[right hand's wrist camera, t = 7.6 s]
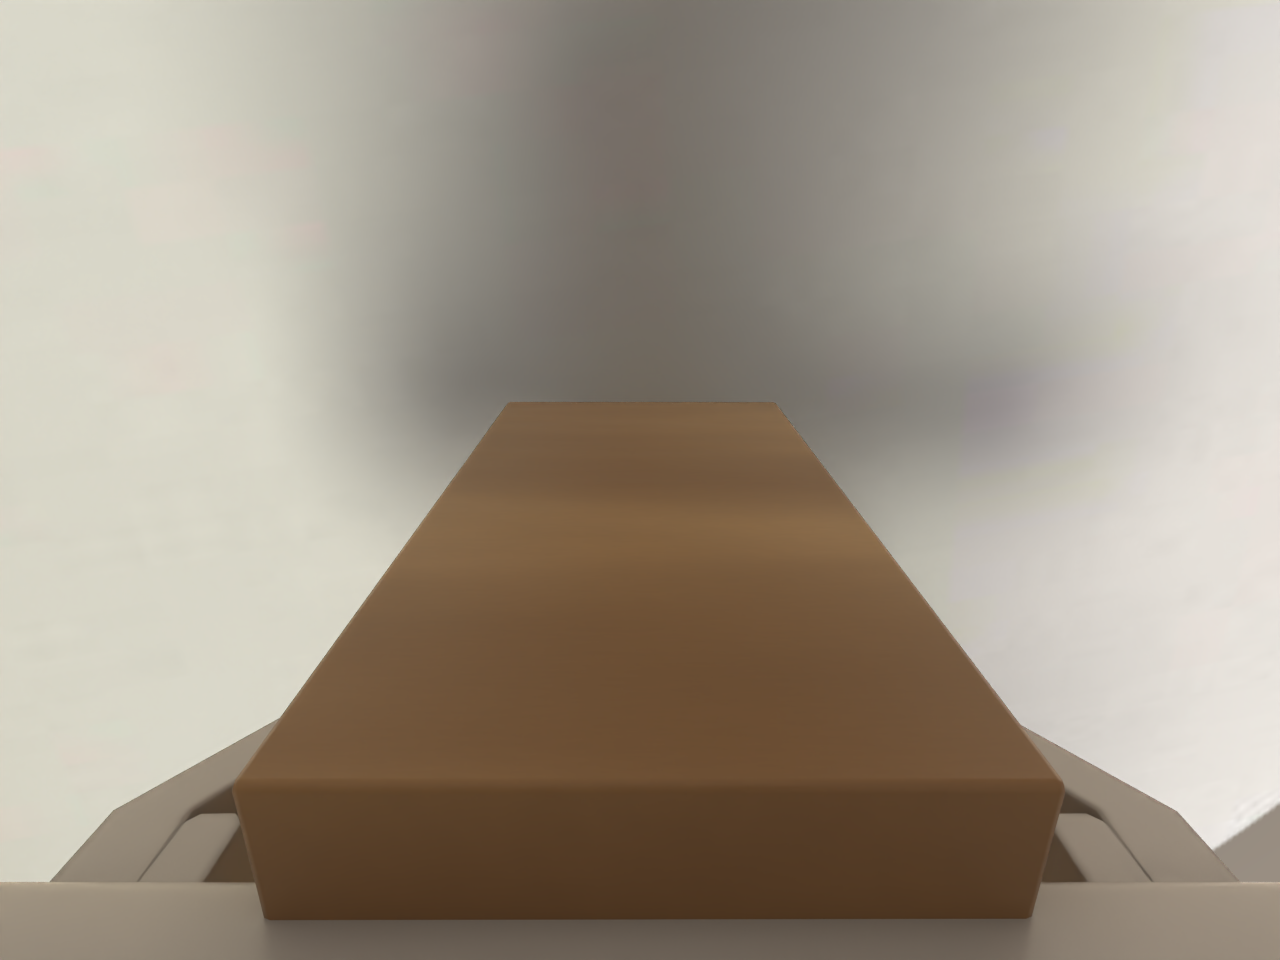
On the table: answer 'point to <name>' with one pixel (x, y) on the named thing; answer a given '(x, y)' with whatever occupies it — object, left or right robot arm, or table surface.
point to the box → (646, 702)
